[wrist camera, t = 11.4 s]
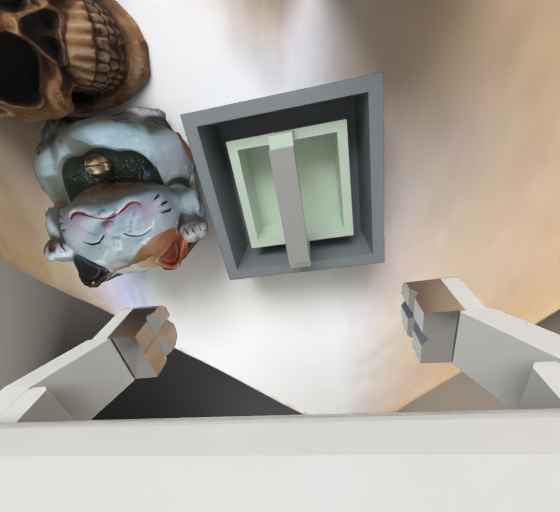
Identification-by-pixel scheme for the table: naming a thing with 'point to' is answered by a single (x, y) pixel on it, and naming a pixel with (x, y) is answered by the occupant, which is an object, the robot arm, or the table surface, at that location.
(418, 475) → the robot arm
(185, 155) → the lucky cat figurine
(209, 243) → the table surface
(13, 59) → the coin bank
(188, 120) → the large crate
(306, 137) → the small crate
